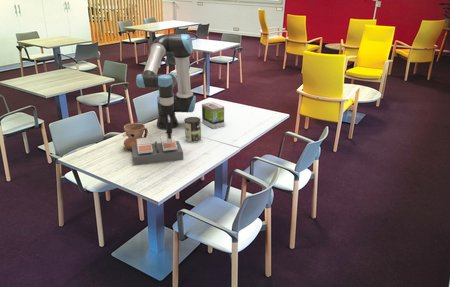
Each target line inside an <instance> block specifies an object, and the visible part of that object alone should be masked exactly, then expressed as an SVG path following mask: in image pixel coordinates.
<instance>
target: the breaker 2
mask: <svg viewBox="0 0 450 287" xmlns="http://www.w3.org/2000/svg"><path fill="white" fill-rule="evenodd" d="M159 140H160V143H161V144H162V147H163V151H167V150H176V149H177V145H176V141H177V140H176V139H175V136H174V134H172V143H169V144H167V135H160V139H159Z"/></svg>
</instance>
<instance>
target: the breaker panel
mask: <svg viewBox="0 0 450 287" xmlns="http://www.w3.org/2000/svg"><path fill="white" fill-rule="evenodd" d="M175 141H176V145H177V149H176V150H167V151H163V147H162V144H161V142H157V141H154V143H152V150H153V152H151V153H142V154H138V148H137V145H136V146H132V150H131V151H132V159H133V160H132V161H133V166H138V165H139V166H140V165H148V164H157V163H164V162H166V163H167V162H172V161H180V160H184V152H183V150H184V149H183V148H182V146H181V143H180V141H179V140H175Z"/></svg>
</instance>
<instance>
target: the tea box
mask: <svg viewBox="0 0 450 287" xmlns="http://www.w3.org/2000/svg"><path fill="white" fill-rule="evenodd" d="M201 116H202V117H201V118H202V119H201V121H202V122H201V123H202V124H204V125H205V126H207V127H210V128H211V129H213V130H214V129H218V128H222V127H225V106H223V105H221V104H219V103H216V102H214V101H211V102H205V103H202V104H201Z"/></svg>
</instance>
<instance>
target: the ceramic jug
mask: <svg viewBox="0 0 450 287" xmlns="http://www.w3.org/2000/svg"><path fill="white" fill-rule="evenodd" d="M123 130H124V133H122V137H127V138H126V139H125V140H124V141H123V146H124V147H125V148H126V149H127V150H131V151H132V146H136V145H137V140H136V139H139V138H148V133H149V132H148V128H147V127H146V126H145V124H144V123H140V122H132V123H126V124H125V125H124V126H123Z"/></svg>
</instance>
